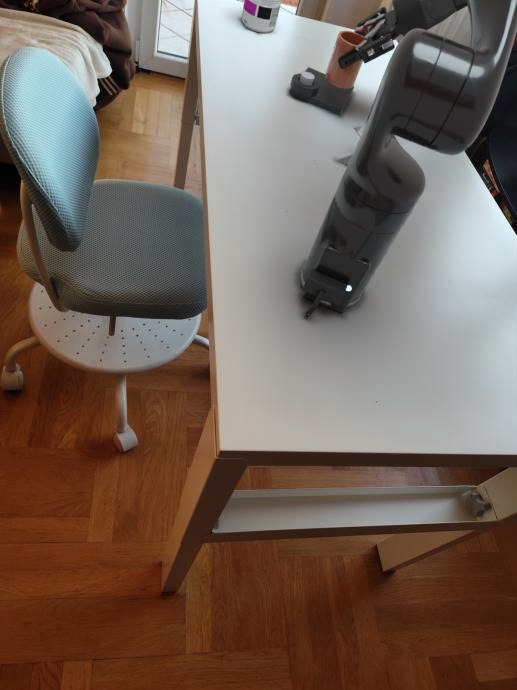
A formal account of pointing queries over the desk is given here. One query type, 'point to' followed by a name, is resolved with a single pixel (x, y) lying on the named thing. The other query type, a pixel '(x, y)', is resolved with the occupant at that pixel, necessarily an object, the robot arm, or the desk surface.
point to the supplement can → (260, 14)
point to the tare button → (306, 78)
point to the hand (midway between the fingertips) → (339, 55)
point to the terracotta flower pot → (334, 72)
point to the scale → (321, 92)
